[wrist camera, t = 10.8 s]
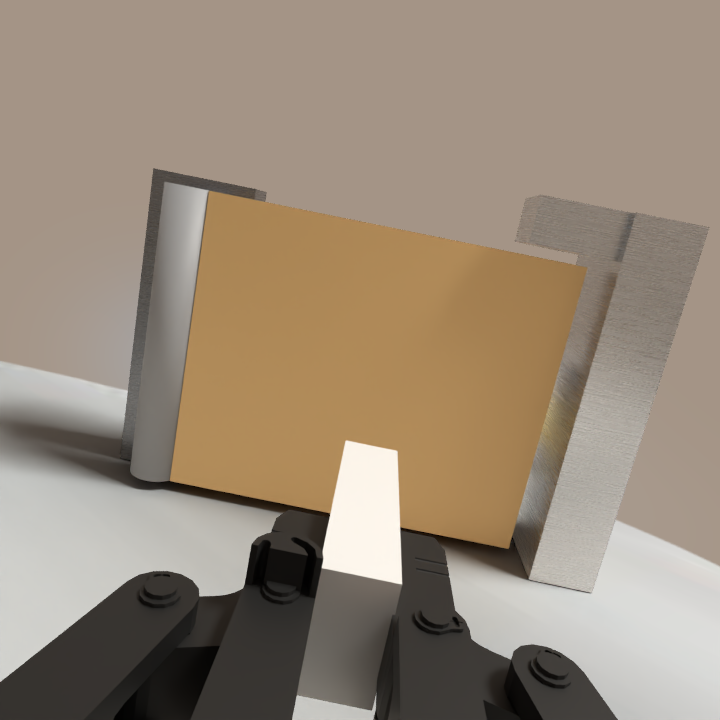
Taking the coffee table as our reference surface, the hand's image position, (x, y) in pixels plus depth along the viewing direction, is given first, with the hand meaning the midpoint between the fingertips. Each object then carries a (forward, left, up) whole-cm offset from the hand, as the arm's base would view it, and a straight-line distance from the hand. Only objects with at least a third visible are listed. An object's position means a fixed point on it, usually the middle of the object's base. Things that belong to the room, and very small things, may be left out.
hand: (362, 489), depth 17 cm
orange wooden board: (-2, +12, -7) cm, 14 cm away
